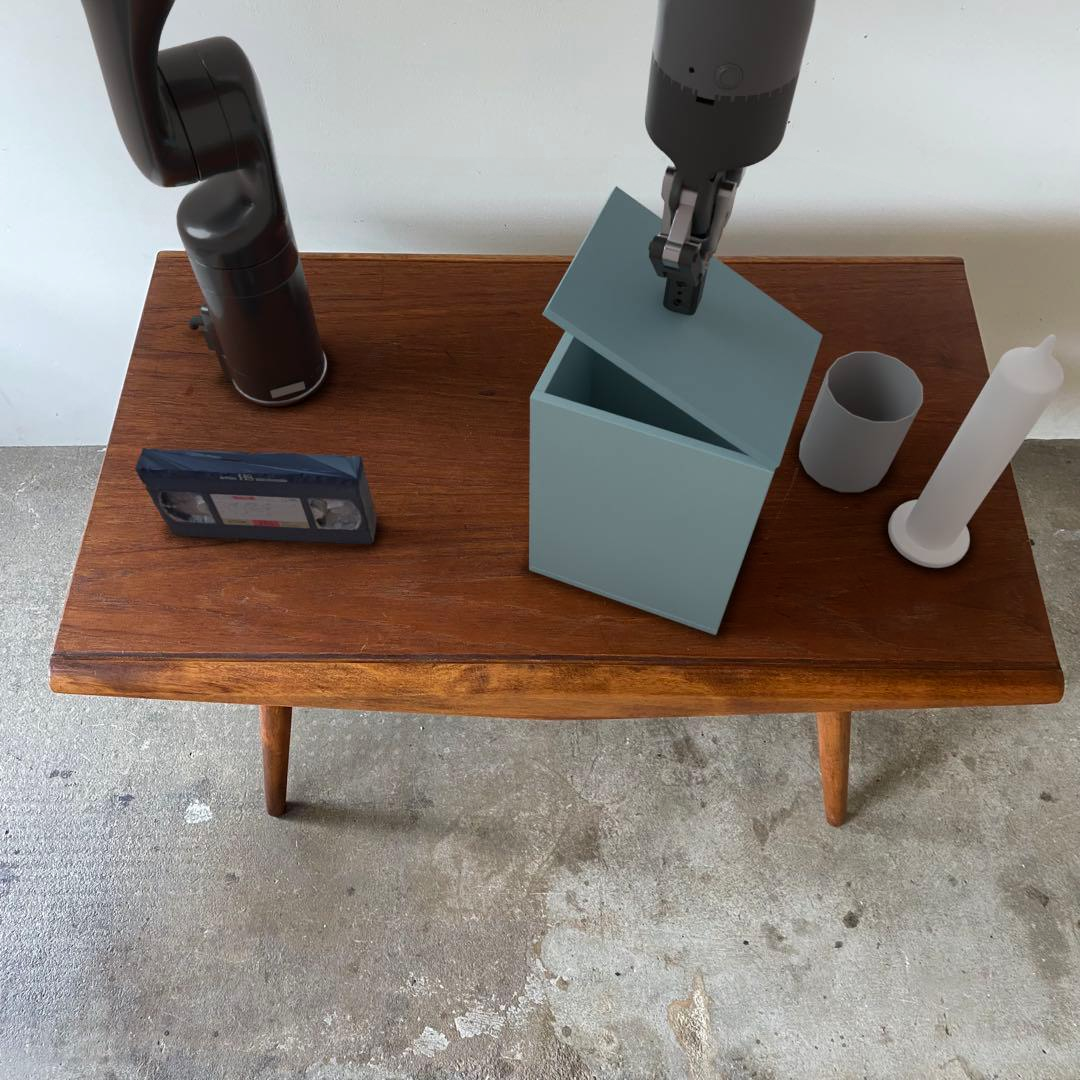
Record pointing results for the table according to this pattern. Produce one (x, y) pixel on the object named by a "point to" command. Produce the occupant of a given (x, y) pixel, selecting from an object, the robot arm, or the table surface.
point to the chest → (635, 492)
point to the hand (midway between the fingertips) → (681, 305)
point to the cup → (859, 420)
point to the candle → (977, 456)
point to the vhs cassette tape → (260, 495)
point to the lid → (688, 333)
